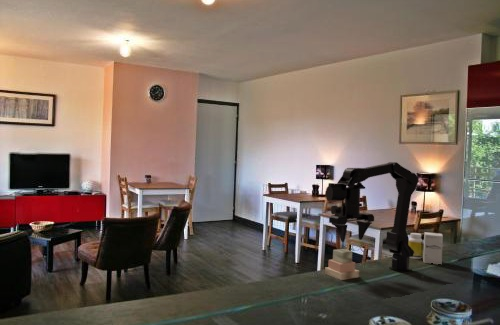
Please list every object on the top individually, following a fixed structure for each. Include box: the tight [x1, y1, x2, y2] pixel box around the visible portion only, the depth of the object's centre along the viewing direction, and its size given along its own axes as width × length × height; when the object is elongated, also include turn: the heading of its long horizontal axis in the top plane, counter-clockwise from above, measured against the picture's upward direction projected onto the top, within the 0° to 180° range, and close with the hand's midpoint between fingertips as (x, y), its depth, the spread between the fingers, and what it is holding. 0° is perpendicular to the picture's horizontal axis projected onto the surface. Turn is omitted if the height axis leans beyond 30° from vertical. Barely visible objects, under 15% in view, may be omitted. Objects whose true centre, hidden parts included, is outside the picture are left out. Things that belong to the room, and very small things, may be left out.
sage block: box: [332, 248, 353, 263], centre depth 158 cm, size 5×5×4 cm
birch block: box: [324, 267, 360, 281], centre depth 158 cm, size 9×9×3 cm
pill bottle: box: [408, 232, 424, 260], centre depth 191 cm, size 6×6×11 cm
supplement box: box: [422, 231, 444, 266], centre depth 183 cm, size 7×7×13 cm
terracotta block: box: [328, 259, 356, 272], centre depth 157 cm, size 7×7×3 cm
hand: (351, 240), depth 161 cm, fingers open, 9 cm apart
